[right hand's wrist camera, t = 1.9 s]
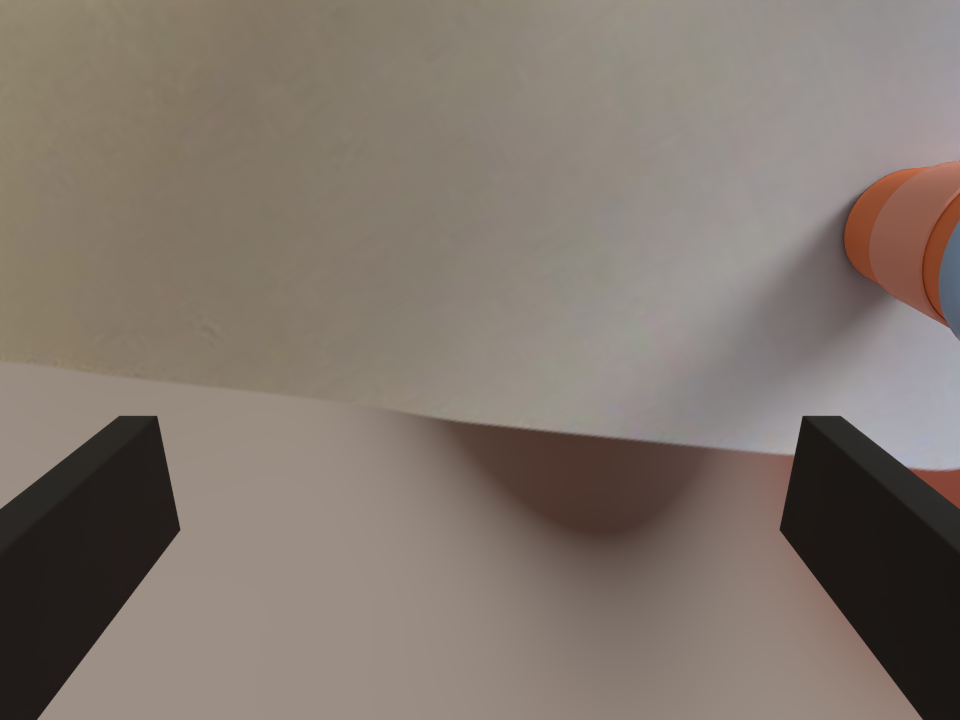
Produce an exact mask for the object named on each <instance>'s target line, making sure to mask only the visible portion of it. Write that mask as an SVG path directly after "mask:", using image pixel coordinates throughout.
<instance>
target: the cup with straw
mask: <svg viewBox="0 0 960 720" xmlns="http://www.w3.org/2000/svg"><path fill="white" fill-rule="evenodd" d="M844 244H845V250H846V253H847V256H848V258H849V260H850V262H851V263H852V265H853V266H854V268H855V269H856V270H857V271H858V272H860V273H861V274H862V275H864V276H865V277H867V278H868V279H870V280H872V281H874V282H876V283H877V284H879V285H881V286H882V287H883V289H884V290H886V291H887V292H888V293H889V294H890V295H892V296H894V297H895V298H897V299H899V300H900V301H902V302H904V303H906V304H908V305H909V306H911V307H913V308H915V309H917V310H918V311H920V312H922V313H924V314H926V315H927V316H929V317H931V318H933V319H935V320H936V321H938V322H940V323H942V324H944V325H945V326H947V327H949V328H950V329H951V330H952V332H953V333H954V335H955V336H956V337H957V338H958V339H959V340H960V161H954V162H948V163H943V164H939V165H936V166H933V167H925V168H913V169H906V170H901V171H897V172H894V173H892V174H889V175H887V176H885V177H883V178H882V179H880V180H878V181H877V182H875V183H874V184H873V185H871V186H870V187H869V188H868V189H867V190H866V191H865V192H864V193H863V194H862V195H861V196H860V198H859V199H858V200H857V202H856V203H855V205H854V206H853V208H852V210H851V212H850V214H849V217H848V219H847V222H846V227H845V233H844Z"/></svg>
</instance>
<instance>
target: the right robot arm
mask: <svg viewBox="0 0 960 720" xmlns="http://www.w3.org/2000/svg"><path fill="white" fill-rule="evenodd" d="M179 531H180V525H179V521H178V516H177V511H176V506H175V501H174V496H173V491H172V486H171V481H170V476H169V472H168V467H167V462H166V457H165V452H164V447H163V442H162V437H161V432H160V428H159V423H158V418H157V416H119V417H118V418H116V419H115V420H114V421H112V422H111V423H110V424H109V425H107V426H106V427H105V428H103V429H102V430H101V431H100V432H98V433H97V434H96V435H94V436H93V437H92V438H91V439H89V440H88V441H87V442H86V443H84V444H83V445H82V446H81V447H79V448H78V449H77V450H75V451H74V452H73V453H72V454H70V455H69V456H68V457H66V458H65V459H64V460H63V461H61V462H60V463H59V464H58V465H56V466H55V467H54V468H52V469H51V470H50V471H49V472H47V473H46V474H45V475H44V476H42V477H41V478H40V479H38V480H37V481H36V482H35V483H33V484H32V485H31V486H29V487H28V488H27V489H26V490H24V491H23V492H22V493H20V494H19V495H18V496H17V497H15V498H14V499H13V500H12V501H10V502H9V503H8V504H6V505H5V506H4V507H3V508H1V509H0V720H37V719H38V717H39V716H40V715H41V714H42V712H43V711H44V710H45V708H46V707H47V706H48V704H49V703H50V702H51V700H52V699H53V698H54V696H55V695H56V694H57V692H58V691H59V690H60V689H61V687H62V686H63V684H64V683H65V682H66V681H67V679H68V678H69V677H70V675H71V674H72V673H73V671H74V670H75V669H76V667H77V666H78V665H79V663H80V662H81V661H82V659H83V658H84V657H85V655H86V654H87V653H88V651H89V650H90V649H91V648H92V646H93V645H94V644H95V642H96V641H97V640H98V638H99V637H100V636H101V634H102V633H103V632H104V630H105V629H106V628H107V626H108V625H109V624H110V622H111V621H112V620H113V618H114V617H115V616H116V614H117V613H118V612H119V610H120V609H121V608H122V606H123V605H124V604H125V603H126V601H127V600H128V599H129V597H130V596H131V595H132V593H133V592H134V591H135V589H136V588H137V587H138V585H139V584H140V583H141V581H142V580H143V579H144V577H145V576H146V575H147V573H148V572H149V571H150V569H151V568H152V567H153V565H154V564H155V563H156V562H157V560H158V559H159V558H160V556H161V555H162V554H163V552H164V551H165V550H166V548H167V547H168V546H169V544H170V543H171V542H172V540H173V539H174V538H175V536H176V535H177V534H178V532H179ZM780 531H781V532H782V534H783V535H784V536H785V538H786V539H787V540H788V542H789V543H790V544H791V546H792V547H793V548H794V550H795V551H796V552H797V554H798V555H799V556H800V558H801V559H802V560H803V561H804V563H805V564H806V565H807V567H808V568H809V569H810V571H811V572H812V573H813V575H814V576H815V577H816V579H817V580H818V581H819V583H820V584H821V585H822V587H823V588H824V589H825V591H826V592H827V593H828V595H829V596H830V597H831V598H832V600H833V601H834V602H835V604H836V605H837V606H838V608H839V609H840V610H841V612H842V613H843V614H844V616H845V617H846V618H847V620H848V621H849V622H850V624H851V625H852V626H853V628H854V629H855V630H856V632H857V633H858V634H859V636H860V637H861V638H862V640H863V641H864V642H865V644H866V645H867V646H868V648H869V649H870V650H871V651H872V653H873V654H874V655H875V657H876V658H877V659H878V661H879V662H880V663H881V665H882V666H883V667H884V669H885V670H886V671H887V673H888V674H889V675H890V677H891V678H892V679H893V681H894V682H895V683H896V684H897V686H898V687H899V689H900V690H901V691H902V692H903V694H904V695H905V696H906V698H907V699H908V700H909V702H910V703H911V704H912V706H913V707H914V708H915V710H916V711H917V712H918V714H919V715H920V716H921V718H922V719H923V720H960V509H959V508H957V507H956V506H955V505H954V504H952V503H951V502H950V501H948V500H947V499H946V498H945V497H943V496H942V495H941V494H940V493H938V492H937V491H936V490H934V489H933V488H932V487H931V486H929V485H928V484H927V483H925V482H924V481H923V480H922V479H920V478H919V477H918V476H917V475H915V474H914V473H913V472H911V471H910V470H909V469H908V468H906V467H905V466H904V465H903V464H901V463H900V462H899V461H897V460H896V459H895V458H894V457H892V456H891V455H890V454H888V453H887V452H886V451H885V450H883V449H882V448H881V447H880V446H878V445H877V444H876V443H874V442H873V441H872V440H871V439H869V438H868V437H867V436H866V435H864V434H863V433H862V432H860V431H859V430H858V429H857V428H855V427H854V426H853V425H851V424H850V423H849V422H848V421H846V420H845V419H844V418H843V417H841V416H803V418H802V423H801V427H800V432H799V437H798V442H797V447H796V452H795V457H794V462H793V467H792V472H791V476H790V481H789V486H788V491H787V496H786V501H785V506H784V511H783V516H782V521H781V525H780Z"/></svg>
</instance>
